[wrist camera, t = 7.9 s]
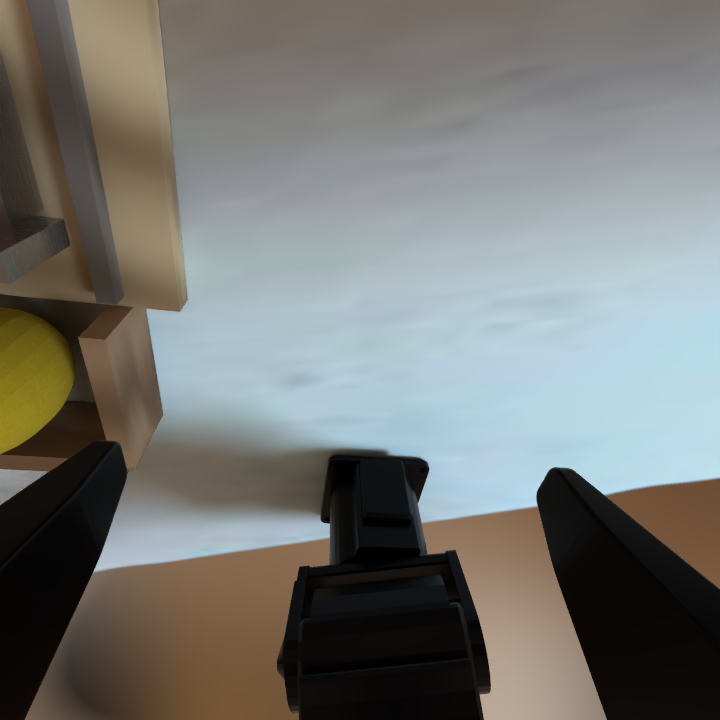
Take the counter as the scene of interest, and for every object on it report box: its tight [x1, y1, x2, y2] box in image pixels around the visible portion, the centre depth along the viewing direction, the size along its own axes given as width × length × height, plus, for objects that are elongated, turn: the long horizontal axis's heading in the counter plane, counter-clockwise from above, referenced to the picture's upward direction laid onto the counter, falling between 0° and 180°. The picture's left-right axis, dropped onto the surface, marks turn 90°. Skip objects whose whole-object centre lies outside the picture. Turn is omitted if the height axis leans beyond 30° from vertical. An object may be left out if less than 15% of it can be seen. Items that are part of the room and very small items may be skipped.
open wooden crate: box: [0, 305, 163, 473], centre depth 20 cm, size 8×10×4 cm
